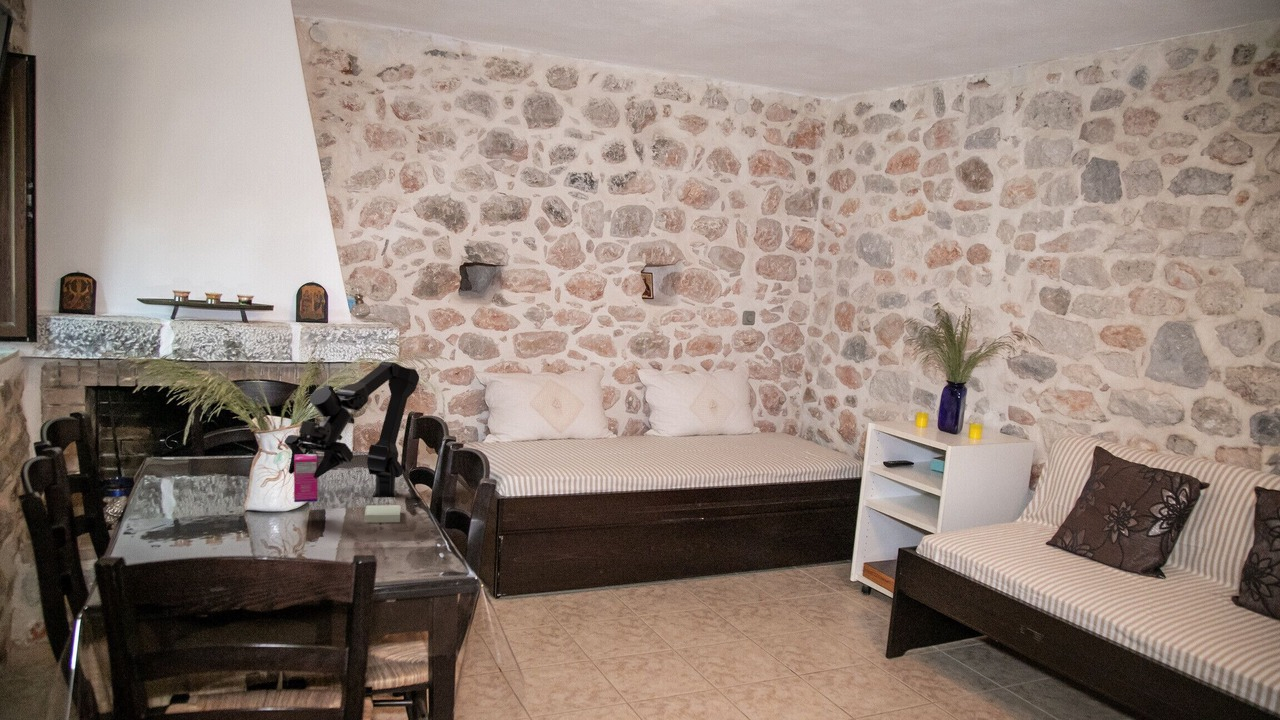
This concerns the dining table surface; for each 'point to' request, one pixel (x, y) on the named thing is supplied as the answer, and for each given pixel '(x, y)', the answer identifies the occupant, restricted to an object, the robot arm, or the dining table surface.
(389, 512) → the tower top block
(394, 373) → the robot arm
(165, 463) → the dining table surface
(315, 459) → the supplement box
